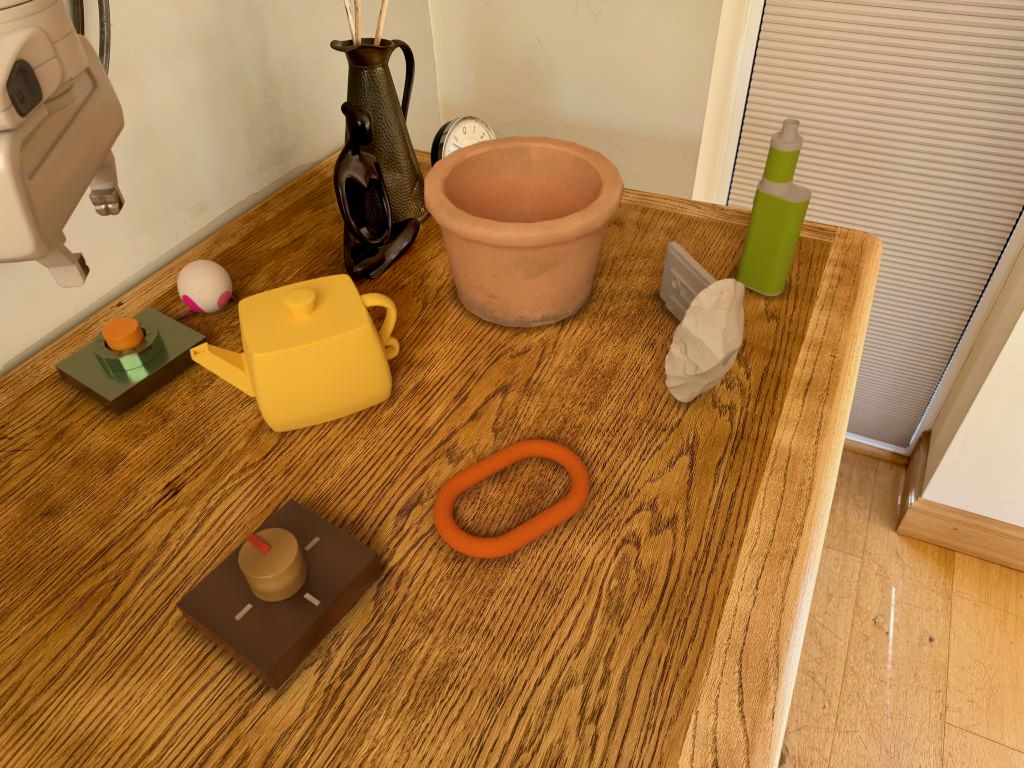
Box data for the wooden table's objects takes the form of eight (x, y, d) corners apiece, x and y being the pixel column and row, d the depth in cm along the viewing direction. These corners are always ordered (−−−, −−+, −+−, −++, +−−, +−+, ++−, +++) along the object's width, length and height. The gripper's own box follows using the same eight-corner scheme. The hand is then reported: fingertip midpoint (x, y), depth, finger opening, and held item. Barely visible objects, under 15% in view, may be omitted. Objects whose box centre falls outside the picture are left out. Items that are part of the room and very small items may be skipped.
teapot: (225, 457, 70) (185, 367, 62) (210, 377, 78) (173, 289, 70) (422, 396, 75) (409, 306, 67) (388, 328, 84) (373, 241, 76)
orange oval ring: (411, 493, 64) (546, 420, 70) (414, 505, 65) (546, 432, 71) (471, 571, 58) (612, 484, 64) (472, 582, 60) (611, 496, 66)
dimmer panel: (276, 692, 53) (265, 672, 51) (188, 623, 58) (174, 602, 55) (383, 572, 60) (377, 550, 58) (298, 518, 65) (290, 496, 62)
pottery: (448, 235, 98) (439, 133, 88) (612, 240, 96) (621, 137, 86) (420, 339, 82) (405, 229, 72) (615, 347, 81) (626, 235, 71)
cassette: (655, 296, 87) (663, 241, 82) (668, 293, 88) (677, 238, 82) (710, 357, 79) (723, 301, 74) (725, 353, 79) (739, 296, 74)
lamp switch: (118, 416, 74) (103, 388, 72) (63, 380, 79) (45, 352, 76) (212, 351, 81) (201, 323, 79) (156, 321, 86) (144, 294, 83)
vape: (745, 266, 91) (782, 110, 77) (789, 285, 88) (836, 126, 74) (729, 279, 89) (765, 122, 75) (774, 299, 86) (819, 138, 72)
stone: (679, 429, 72) (703, 308, 61) (652, 394, 75) (671, 274, 65) (747, 407, 73) (782, 286, 63) (717, 374, 77) (746, 255, 67)
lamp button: (121, 355, 76) (115, 342, 74) (101, 343, 77) (94, 330, 76) (151, 336, 78) (145, 324, 77) (130, 325, 79) (124, 312, 78)
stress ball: (195, 318, 91) (148, 294, 86) (234, 269, 91) (190, 241, 86) (216, 347, 86) (168, 323, 81) (258, 295, 86) (212, 267, 81)
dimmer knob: (319, 571, 57) (309, 544, 55) (275, 612, 55) (262, 586, 52) (282, 543, 59) (271, 515, 57) (238, 582, 57) (224, 555, 54)
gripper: (8, -1, 51) (91, 179, 60) (-144, 122, 36) (-2, 335, 46) (100, -7, 51) (169, 173, 61) (-12, 112, 37) (101, 325, 46)
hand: (95, 243), depth 53 cm, fingers open, 8 cm apart
